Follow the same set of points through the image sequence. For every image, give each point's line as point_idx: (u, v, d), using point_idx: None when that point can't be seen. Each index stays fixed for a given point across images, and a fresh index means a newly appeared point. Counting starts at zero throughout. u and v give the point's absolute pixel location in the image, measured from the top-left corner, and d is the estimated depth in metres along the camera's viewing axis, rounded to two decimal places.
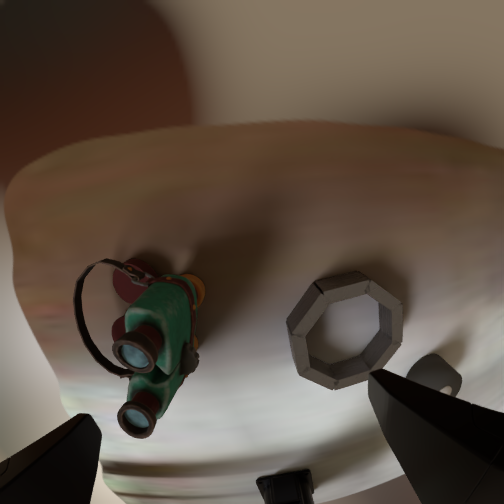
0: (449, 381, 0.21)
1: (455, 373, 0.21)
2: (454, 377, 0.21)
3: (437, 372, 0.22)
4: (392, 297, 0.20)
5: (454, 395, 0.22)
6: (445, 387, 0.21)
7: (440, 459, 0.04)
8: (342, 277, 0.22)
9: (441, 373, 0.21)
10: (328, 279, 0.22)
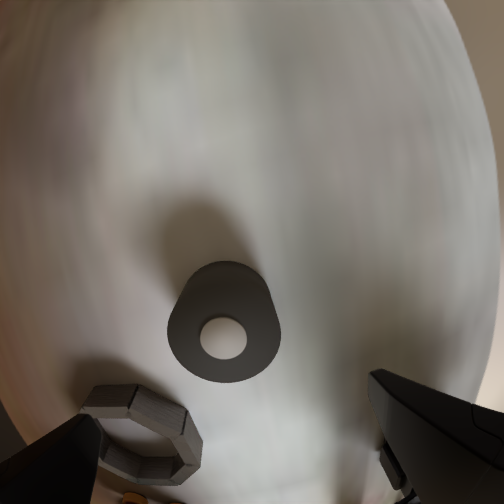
0: (188, 333, 0.12)
1: (171, 320, 0.12)
2: (181, 319, 0.12)
3: None
4: None
5: (241, 294, 0.12)
6: (202, 341, 0.12)
7: (440, 459, 0.04)
8: None
9: None
10: None
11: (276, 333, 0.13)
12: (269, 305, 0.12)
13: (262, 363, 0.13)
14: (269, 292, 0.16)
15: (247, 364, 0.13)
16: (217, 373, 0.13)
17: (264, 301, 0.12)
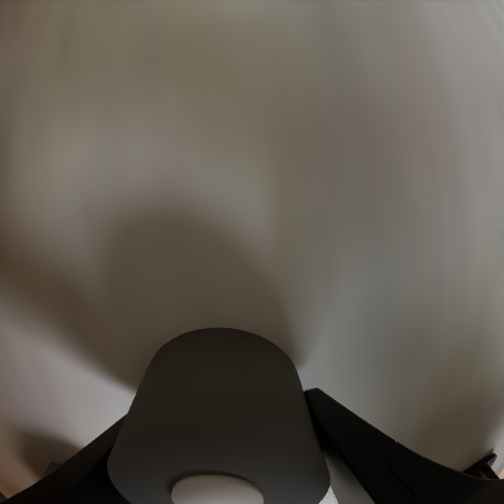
0: (148, 486, 0.05)
1: (111, 466, 0.04)
2: (130, 469, 0.04)
3: None
4: None
5: (255, 445, 0.04)
6: (176, 500, 0.05)
7: (353, 496, 0.04)
8: None
9: None
10: None
11: (321, 486, 0.05)
12: (314, 455, 0.05)
13: None
14: (300, 384, 0.08)
15: None
16: None
17: (304, 452, 0.04)
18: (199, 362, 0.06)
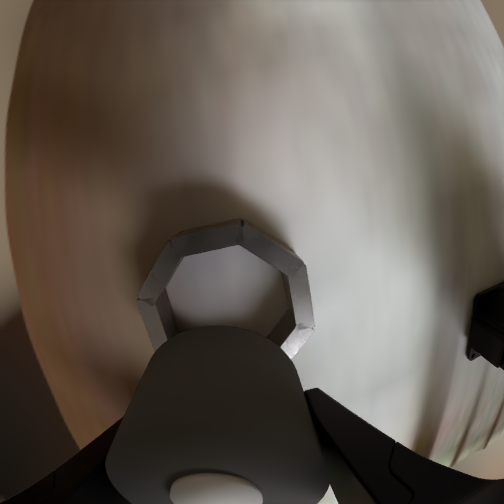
0: (147, 484, 0.05)
1: (109, 464, 0.04)
2: (129, 467, 0.04)
3: None
4: (159, 259, 0.14)
5: (254, 443, 0.04)
6: (174, 499, 0.05)
7: (353, 496, 0.04)
8: None
9: None
10: None
11: (321, 485, 0.05)
12: (314, 453, 0.05)
13: None
14: (300, 382, 0.08)
15: None
16: None
17: (304, 450, 0.04)
18: (198, 360, 0.06)
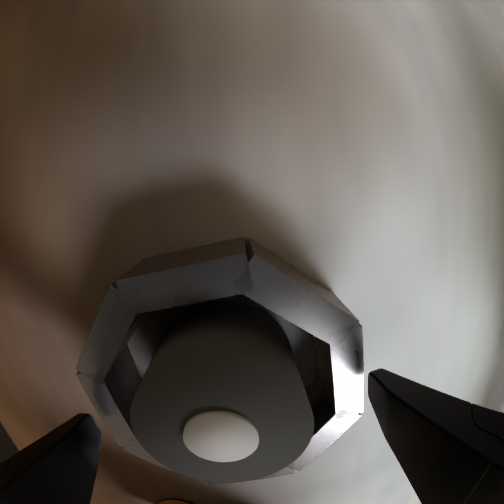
0: (164, 428, 0.07)
1: (134, 410, 0.06)
2: (150, 410, 0.06)
3: None
4: (101, 315, 0.07)
5: (251, 379, 0.06)
6: (186, 440, 0.07)
7: (440, 459, 0.04)
8: None
9: None
10: None
11: (307, 428, 0.07)
12: (299, 392, 0.07)
13: (281, 462, 0.07)
14: (290, 348, 0.10)
15: (258, 464, 0.07)
16: (213, 473, 0.07)
17: (290, 388, 0.06)
18: (208, 322, 0.08)
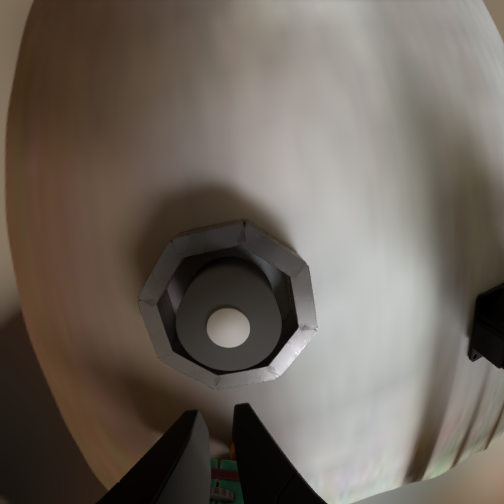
0: (195, 322, 0.13)
1: (179, 311, 0.13)
2: (189, 310, 0.13)
3: None
4: (161, 260, 0.14)
5: (245, 286, 0.13)
6: (208, 330, 0.13)
7: None
8: None
9: None
10: None
11: (277, 323, 0.14)
12: (271, 296, 0.13)
13: (264, 352, 0.14)
14: (270, 286, 0.17)
15: (250, 352, 0.14)
16: (222, 361, 0.14)
17: (266, 293, 0.13)
18: (221, 265, 0.15)
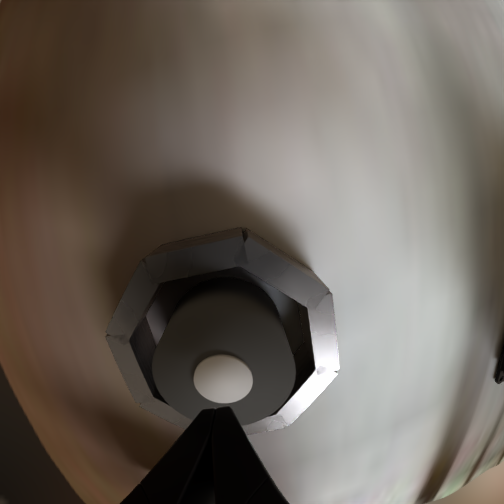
0: (178, 372, 0.09)
1: (156, 357, 0.09)
2: (169, 356, 0.09)
3: None
4: (131, 285, 0.10)
5: (246, 327, 0.09)
6: (196, 382, 0.09)
7: None
8: None
9: None
10: None
11: (290, 372, 0.10)
12: (282, 339, 0.09)
13: (271, 406, 0.10)
14: None
15: (253, 407, 0.10)
16: None
17: (275, 335, 0.09)
18: (214, 291, 0.11)
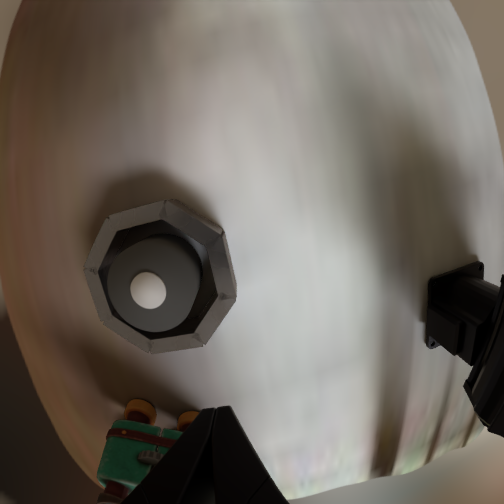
0: (122, 285, 0.15)
1: (109, 275, 0.15)
2: (117, 274, 0.15)
3: None
4: (100, 233, 0.16)
5: (160, 253, 0.15)
6: (132, 292, 0.15)
7: None
8: None
9: None
10: None
11: (190, 287, 0.15)
12: (182, 262, 0.15)
13: (181, 315, 0.15)
14: (197, 259, 0.18)
15: (169, 315, 0.15)
16: (146, 322, 0.15)
17: (177, 259, 0.15)
18: (150, 238, 0.17)
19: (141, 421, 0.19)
